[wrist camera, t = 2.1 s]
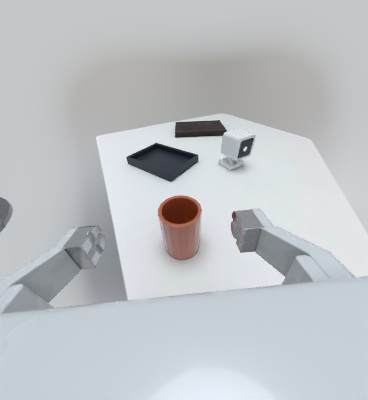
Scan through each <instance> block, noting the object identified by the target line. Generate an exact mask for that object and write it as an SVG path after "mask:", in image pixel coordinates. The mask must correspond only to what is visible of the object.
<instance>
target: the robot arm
mask: <svg viewBox="0 0 368 400" xmlns="http://www.w3.org/2000/svg"><path fill="white" fill-rule="evenodd" d="M232 218H233V221H232V222H231V231H232V234H233V237H234V238H235V239H237V242H236V244H237V246H238V248H239V250H240V253H242V252H255V251H256V253H257V254H258V255H259V256H261V257H262V258H263V259H264V260H266V261H267V262H268V263H269V264H270V265H272V266H273V267H274V268H275V269H277V270H278V271H279V272H280V273H281V274H283V275H284V276H285V279H284V281H283V283H282V285H275V286H265V287H256V288H246V289H236V290H226V291H216V292H207V293H197V294H187V295H177V296H167V297H158V298H148V299H138V300H129V301H119V302H109V303H99V304H90V305H80V306H70V307H61V308H54V307H52V306H51V305H50V304H48V303H49V302H50V301H51V299H53V298H54V297H55V296H56V295H57V294H58V293H59V292H60V291H61V290H62V289H63V288H64V287H65V286H66V285H67V284H68V283H69V282H70V281H71V280H72V279H73V278H74V277H75V276H76V275H77V274H78V273H79V272H80V271H81V269H88V268H95V267H97V264H98V262H99V260H100V258H101V256H100V254H101V253H102V252H103V251H104V250H105V247H106V238H105V236H104V235H102V234H101V233H100V232H101V230H100V228H99V226H88V227H77V228H71V229H69V230H68V231H67V232H66V234H65V235H64V236H63V237H62V238H61V239H60V241H59V242H58V243H57V244H56V245H55V246H54V248H53V249H52V250H48V251H47V252H46V253H44V254H42V255H41V256H39V257H37V258H36V259H34V260H32V261H31V262H29V263H28V264H26V265H24V266H23V267H21V268H20V269H18V270H16V271H15V272H13V273H12V274H10V275H8V276H7V277H6V278H4V279H2V280H1V281H0V400H368V276H363V277H355V276H354V275H353V274H352V273H351V272H350V271H348V270H347V269H346V268H345V267H344V266H343V265H342V264H341V263H340V262H339V261H338V260H337V259H336V258H335V257H334V256H333V255H332V254H331V253H330V252H328V251H326V250H324V249H322V248H320V247H318V246H316V245H314V244H312V243H310V242H308V241H306V240H304V239H302V238H300V237H298V236H296V235H294V234H292V233H289V232H287V231H285V230H283V229H281V228H279V227H274V225H273V224H272V223H271V222H270V221H269V219H268V218H267V217H266V216H265V214H264V213H263V212H262V211H261V210H260V209H259V208H257V209H250V210H242V211H233V213H232Z"/></svg>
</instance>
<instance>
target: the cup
mask: <svg viewBox="0 0 368 400" xmlns="http://www.w3.org/2000/svg"><path fill="white" fill-rule="evenodd" d="M201 213H202V209H201V206H200V204H199V203H198V202H197V201H196V200H195V199H193V198H191V197H188V196H174V197H171V198H168V199H166V200H165V201H164V202H163V203H161V205H160V207H159V209H158V216H159V221H160V225H161V230H162V235H163V239H164V244H165V248H166V250H167V252H168V254H169V255H170V256H172V257H173V258H175V259H180V260H183V259H188V258H190V257H192V256H193V255H194V254H195V253H196V252H197V250H198V248H199V242H200V228H201Z"/></svg>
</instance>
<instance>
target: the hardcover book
mask: <svg viewBox="0 0 368 400" xmlns="http://www.w3.org/2000/svg"><path fill="white" fill-rule="evenodd" d="M225 132H227V130H226V129H225V127H224V126H223V125H222V123H221V122H220V120H217V121H193V122H176V127H175V137H192V136H216V135H223V134H224V133H225Z"/></svg>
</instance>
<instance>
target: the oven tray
mask: <svg viewBox="0 0 368 400" xmlns="http://www.w3.org/2000/svg"><path fill="white" fill-rule="evenodd" d="M126 158H127V161H128V164H131V165H133V166H135V167H138V168H140V169H142V170H145V171H147V172H149V173H152V174H154V175H156V176H159V177H161V178H163V179H166V180H168V181H173V180H174V179H175V178H177V177H178V176H179V175H181V174H182V173H183V172H185V171H186V170H187V169H189V168H190V167H192V166H193V165H194V164H196V163H197V162H198V155H196V154H193V153H189V152H186V151H183V150H179V149H176V148H172V147H169V146H165V145H162V144H158V143H155V144H153V145H151V146H149V147H147V148H145V149H143V150H140V151H138V152H136V153H134V154H132V155H130V156H128V157H126Z"/></svg>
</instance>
